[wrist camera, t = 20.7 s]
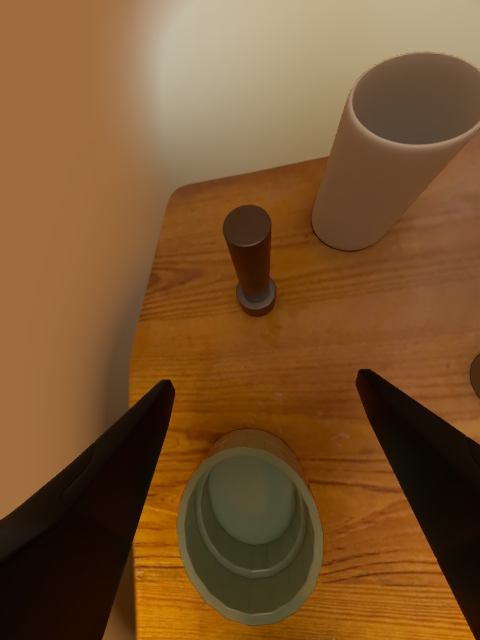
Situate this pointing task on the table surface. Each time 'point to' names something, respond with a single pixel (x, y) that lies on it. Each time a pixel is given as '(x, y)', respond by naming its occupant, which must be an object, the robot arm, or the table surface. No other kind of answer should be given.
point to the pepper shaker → (476, 375)
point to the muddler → (251, 257)
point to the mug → (394, 143)
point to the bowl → (250, 529)
